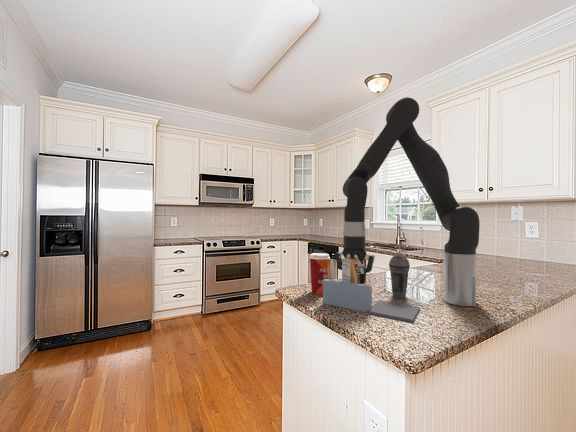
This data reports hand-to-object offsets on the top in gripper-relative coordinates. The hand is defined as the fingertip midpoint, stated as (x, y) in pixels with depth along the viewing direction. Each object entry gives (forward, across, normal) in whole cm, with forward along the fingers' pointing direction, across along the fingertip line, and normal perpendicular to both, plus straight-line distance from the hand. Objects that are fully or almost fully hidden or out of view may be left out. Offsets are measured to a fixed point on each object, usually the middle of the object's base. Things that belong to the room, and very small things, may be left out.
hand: (354, 282), depth 96 cm
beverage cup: (+7, -12, -15) cm, 20 cm away
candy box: (+7, 0, 0) cm, 7 cm away
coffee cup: (+7, +15, -3) cm, 17 cm away
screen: (+6, 0, +8) cm, 10 cm away
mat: (+6, -14, +3) cm, 16 cm away
